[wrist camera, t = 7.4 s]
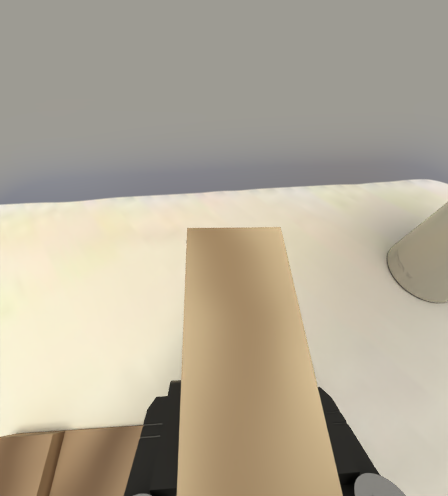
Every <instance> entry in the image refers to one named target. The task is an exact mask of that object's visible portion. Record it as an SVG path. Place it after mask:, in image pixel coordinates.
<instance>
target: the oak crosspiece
mask: <svg viewBox="0 0 448 496" xmlns="http://www.w3.org/2000/svg"><path fill="white" fill-rule="evenodd" d="M177 496H343V494H342V490H341V486H340V481H339V477H338V473H337V468H336V464H335V460H334V455H333V451H332V447H331V442H330V438H329V434H328V430H327V425H326V421H325V417H324V412H323V408H322V404H321V399H320V395H319V391H318V386H317V382H316V378H315V374H314V369H313V365H312V361H311V356H310V352H309V348H308V343H307V339H306V335H305V330H304V326H303V322H302V317H301V313H300V309H299V305H298V300H297V296H296V292H295V287H294V283H293V279H292V274H291V270H290V266H289V261H288V257H287V253H286V248H285V244H284V240H283V236H282V231H281V227H258V228H187V249H186V274H185V299H184V325H183V350H182V375H181V401H180V426H179V451H178V477H177Z"/></svg>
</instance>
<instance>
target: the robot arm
mask: <svg viewBox="0 0 448 496" xmlns="http://www.w3.org/2000/svg"><path fill="white" fill-rule="evenodd" d="M387 261H388V266H389V269H390V271H391V273H392V275H393V276H394V278H395V279H396V280H397V282H398V283H399V284H400V285H401V286H402V287H403V288H404V289H406V290H407V291H408V292H410V293H411V294H413V295H414V296H416V297H418V298H420V299H423V300H426V301H429V302H434V303H445V302H448V202H447V203H446V204H445V205H444V206H442V207H441V208H440V209H439V210H437V211H436V212H435V213H434V214H432V215H431V216H430V217H429V218H428V219H426V220H425V221H424V222H423V223H421V224H420V225H419V226H418V227H416V228H415V229H414V230H413V231H411V232H410V233H409V234H408V235H406V236H405V237H404V238H403V239H401V240H400V241H399V242H398V243H397V244H395V245H394V246H393V247H392V248H391V249H390V251H389V253H388V257H387ZM318 391H319V395H320V399H321V404H322V408H323V412H324V417H325V421H326V425H327V430H328V434H329V438H330V442H331V447H332V451H333V455H334V460H335V464H336V468H337V473H338V477H339V481H340V486H341V490H342V494H343V496H405V494H404V493H403V492H402V491H401V490H400V489H399V488H398V487H397V486H396V485H394V484H393V483H392V482H391V481H389V480H388V479H386V478H384V477H382V476H381V475H380V474H379V473H378V471H377V470H376V468H375V467H374V465H373V463H372V462H371V460H370V459H369V457H368V455H367V454H366V452H365V451H364V449H363V447H362V446H361V444H360V443H359V441H358V439H357V438H356V436H355V435H354V433H353V431H352V430H351V428H350V427H349V425H348V424H347V423H346V420H345V419H344V417H343V415H342V414H341V413H340V411H339V409H338V407H337V406H336V404H335V403H334V401H333V399H332V398H331V397H330V396H329V395H328V394H327V393H326V392H325V391H323V390H322V389H321V388H320V387H318ZM180 401H181V380H179V381H171V382H170V387H169V392H168V396H164V397H156V398H155V400H154V401H153V402H152V404H151V405H150V407H149V408H148V409H147V413H146V417H145V420H144V425H143V427H142V431H141V435H140V439H139V442H138V446H137V449H136V453H135V456H134V460H133V464H132V467H131V471H130V475H129V478H128V482H127V485H126V489H125V492H124V495H123V496H177V477H178V451H179V426H180Z"/></svg>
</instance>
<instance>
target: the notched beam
mask: <svg viewBox="0 0 448 496" xmlns="http://www.w3.org/2000/svg"><path fill="white" fill-rule="evenodd" d="M142 427H143V425H139V426H124V427H109V428H94V429H79V430H64V431H49V432H34V433H19V434H12V435H7V436H3V437H0V496H123V495H124V492H125V489H126V485H127V482H128V478H129V475H130V471H131V467H132V464H133V460H134V456H135V453H136V449H137V446H138V442H139V439H140V435H141V431H142Z"/></svg>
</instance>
